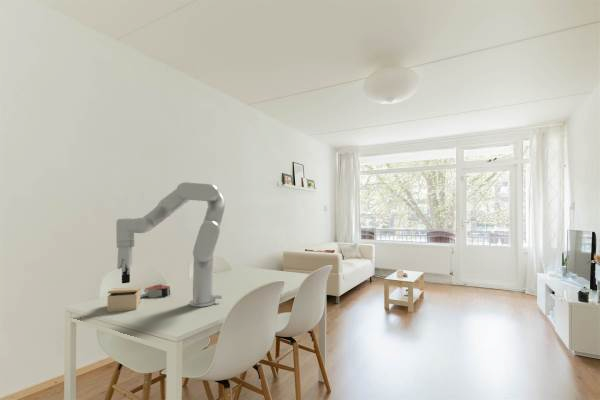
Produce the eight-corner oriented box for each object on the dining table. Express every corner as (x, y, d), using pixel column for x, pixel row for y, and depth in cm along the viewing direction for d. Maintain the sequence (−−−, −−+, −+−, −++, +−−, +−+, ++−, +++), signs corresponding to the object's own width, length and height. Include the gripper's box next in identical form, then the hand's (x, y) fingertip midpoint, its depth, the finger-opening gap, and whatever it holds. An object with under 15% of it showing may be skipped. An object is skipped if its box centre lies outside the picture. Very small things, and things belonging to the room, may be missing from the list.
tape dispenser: (126, 304, 165) (167, 300, 168) (126, 294, 165) (166, 290, 168) (138, 294, 182) (174, 290, 186) (137, 285, 182) (174, 281, 186)
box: (140, 302, 162) (140, 288, 162) (136, 309, 151) (136, 294, 151) (113, 304, 158) (113, 290, 159) (107, 311, 147) (107, 296, 147)
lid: (140, 288, 163) (140, 286, 163) (136, 291, 151) (136, 289, 151) (113, 290, 159) (114, 288, 159) (107, 293, 147) (107, 291, 147)
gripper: (120, 243, 159) (120, 280, 158) (113, 246, 145) (113, 287, 144) (136, 242, 161) (137, 278, 161) (131, 245, 147) (131, 285, 147)
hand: (125, 282), depth 152 cm, fingers closed
